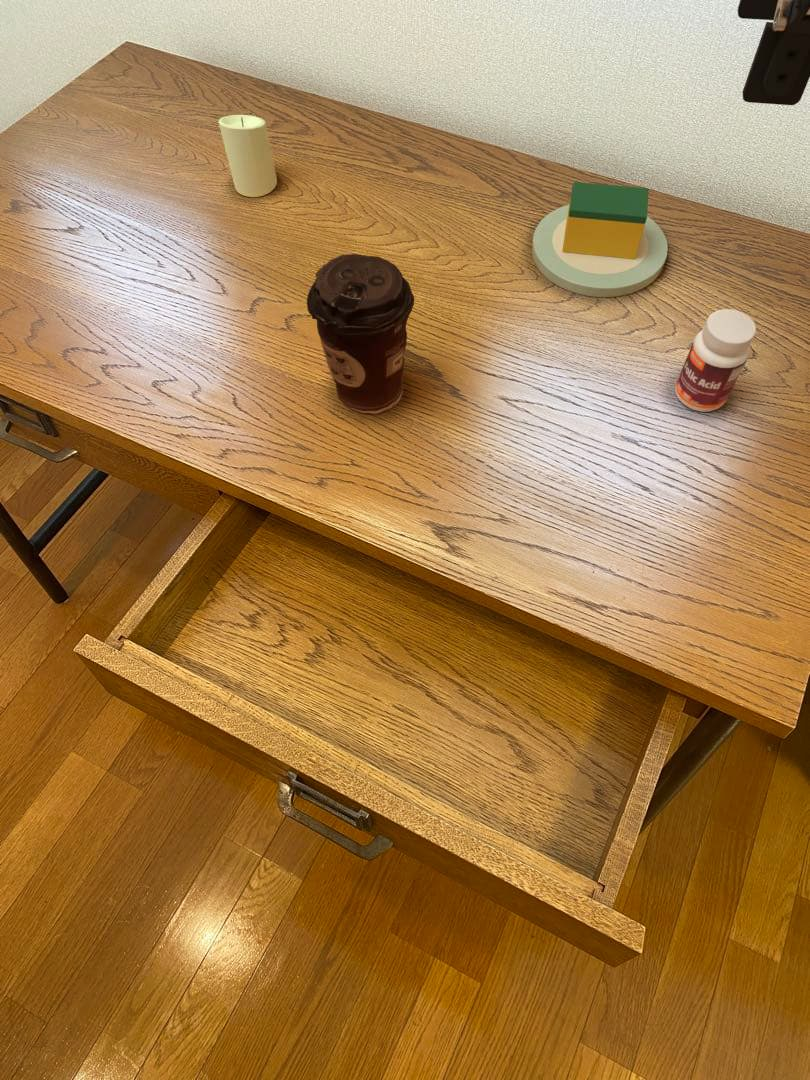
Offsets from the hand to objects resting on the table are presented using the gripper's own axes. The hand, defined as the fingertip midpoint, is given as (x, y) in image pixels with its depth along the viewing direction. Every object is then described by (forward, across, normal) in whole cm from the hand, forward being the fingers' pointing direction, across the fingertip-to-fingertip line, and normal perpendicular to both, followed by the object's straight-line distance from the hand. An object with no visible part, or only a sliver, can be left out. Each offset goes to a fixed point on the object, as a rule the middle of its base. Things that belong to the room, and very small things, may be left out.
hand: (765, 57), depth 46 cm
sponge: (+27, +17, +6) cm, 32 cm away
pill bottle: (+28, -1, -4) cm, 29 cm away
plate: (+28, +17, +6) cm, 33 cm away
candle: (+28, +23, +46) cm, 59 cm away
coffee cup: (+28, -6, +26) cm, 39 cm away
